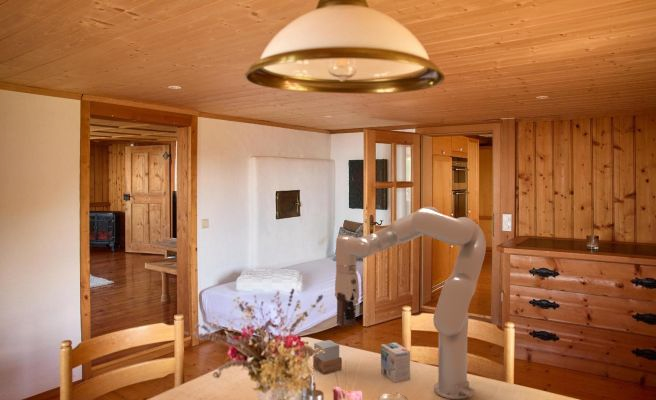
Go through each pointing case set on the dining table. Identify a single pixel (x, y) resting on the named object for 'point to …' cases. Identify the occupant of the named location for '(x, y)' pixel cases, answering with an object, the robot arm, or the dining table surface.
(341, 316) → the box
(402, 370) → the light bulb box
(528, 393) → the dining table surface
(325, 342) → the tower top
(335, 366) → the tower base
